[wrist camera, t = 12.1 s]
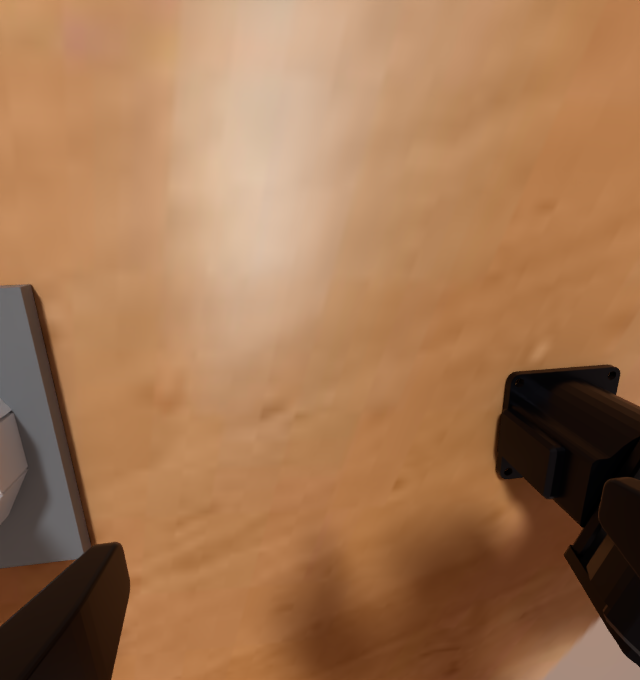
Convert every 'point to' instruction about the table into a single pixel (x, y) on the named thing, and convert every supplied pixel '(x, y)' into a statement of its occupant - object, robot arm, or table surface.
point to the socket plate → (33, 446)
